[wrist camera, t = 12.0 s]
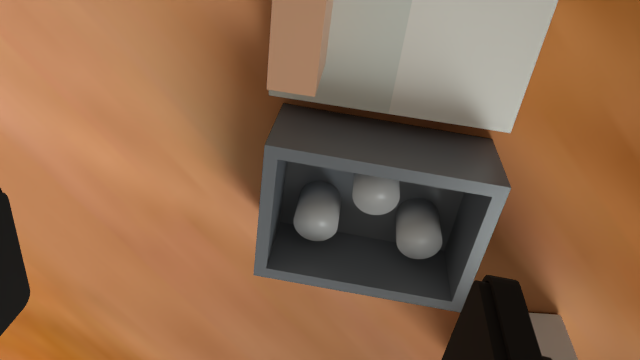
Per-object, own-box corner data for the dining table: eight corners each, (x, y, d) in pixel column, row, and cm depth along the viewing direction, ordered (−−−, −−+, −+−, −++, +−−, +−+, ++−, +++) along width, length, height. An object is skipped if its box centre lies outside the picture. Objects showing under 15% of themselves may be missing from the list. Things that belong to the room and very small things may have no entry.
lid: (568, -70, 27) (621, -52, 21) (503, 117, 33) (530, 175, 26) (289, -110, 27) (261, -103, 21) (275, 82, 33) (249, 130, 27)
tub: (492, 139, 33) (511, 187, 28) (451, 254, 39) (460, 312, 33) (283, 103, 34) (264, 144, 28) (270, 222, 39) (253, 275, 34)
